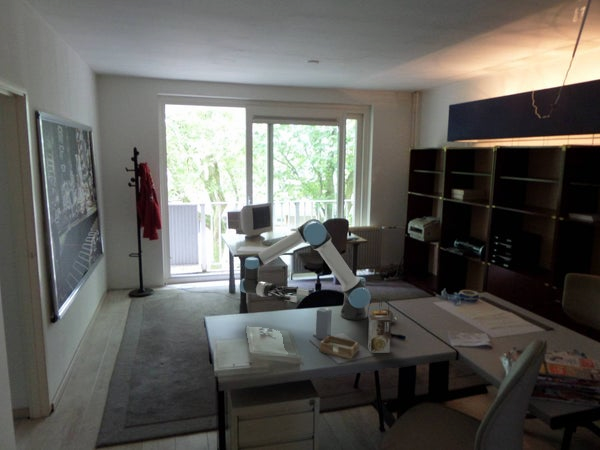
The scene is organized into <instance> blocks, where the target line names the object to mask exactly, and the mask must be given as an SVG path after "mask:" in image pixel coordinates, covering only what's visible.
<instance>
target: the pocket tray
mask: <svg viewBox="0 0 600 450" xmlns="http://www.w3.org/2000/svg"><path fill="white" fill-rule="evenodd" d="M319 343H320V344H319V350H318V352H319V353H324V354H329V355H333V356H337V357H341V358H346V359H353V357H354V356H355V355H356V354H357V353H358V352H359V342H358V341H357V340H353V339H347V338H343V337H339V336H334V335H332V336H327V337H326V338H325V339H322V340H321V341H320V342H319Z"/></svg>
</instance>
